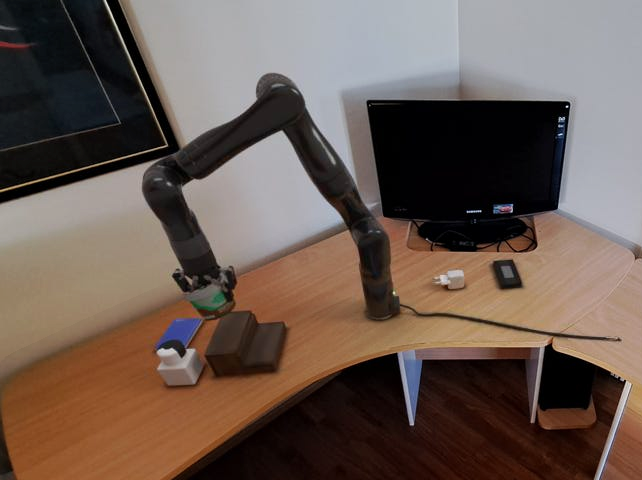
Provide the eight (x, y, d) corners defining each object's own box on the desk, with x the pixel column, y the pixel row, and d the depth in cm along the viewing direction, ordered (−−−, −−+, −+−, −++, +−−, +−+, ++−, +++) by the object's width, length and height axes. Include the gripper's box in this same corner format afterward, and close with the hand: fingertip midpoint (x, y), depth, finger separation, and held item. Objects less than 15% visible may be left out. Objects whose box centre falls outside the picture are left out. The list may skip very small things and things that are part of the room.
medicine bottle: (178, 365, 126) (160, 336, 118) (205, 364, 127) (188, 335, 119) (167, 386, 121) (147, 357, 113) (195, 385, 121) (176, 355, 113)
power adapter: (433, 292, 154) (432, 279, 150) (431, 284, 157) (430, 271, 154) (464, 289, 156) (465, 276, 152) (462, 280, 159) (462, 267, 156)
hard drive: (174, 318, 138) (153, 347, 129) (201, 318, 138) (182, 347, 129) (176, 321, 139) (156, 351, 130) (203, 321, 139) (184, 351, 130)
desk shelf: (286, 329, 138) (279, 308, 132) (275, 371, 126) (266, 350, 120) (232, 333, 136) (222, 312, 130) (215, 376, 124) (203, 355, 118)
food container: (222, 325, 114) (202, 295, 107) (201, 324, 115) (181, 295, 109) (249, 295, 123) (233, 266, 117) (230, 294, 124) (213, 265, 118)
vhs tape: (512, 263, 168) (512, 259, 167) (521, 287, 158) (522, 282, 156) (493, 265, 167) (493, 260, 166) (501, 289, 157) (501, 284, 155)
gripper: (153, 259, 102) (182, 312, 113) (219, 256, 104) (242, 308, 115) (165, 241, 108) (192, 293, 119) (228, 238, 110) (249, 290, 121)
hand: (216, 301), depth 117 cm, fingers closed on food container, 6 cm apart
